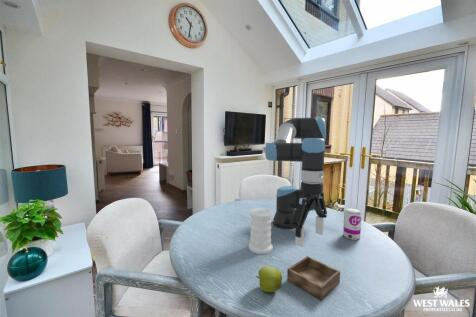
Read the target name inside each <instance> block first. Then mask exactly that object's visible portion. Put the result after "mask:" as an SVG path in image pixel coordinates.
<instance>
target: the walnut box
mask: <svg viewBox="0 0 476 317" xmlns="http://www.w3.org/2000/svg"><path fill="white" fill-rule="evenodd" d="M286 272H287V274H286V275H287V277H286V278H287V279H286V280H287V281H288V282H289V283H291V284H293V285H294V286H296V287H298V288H299V289H301V290H302V291H305V293H308V294H310V295H311V296H313V297H314V298H316V299H318V301H322V300H324V298H326V297H327V295H329V293H330V292H332V291H333V290H334V289H335V288H336V287H337V286H338V285H339V284H340V283H341V282H340V280H341V271H340V270H338V269H336V268H334V267H332V266H330V265H327V264H326V263H323V262H322V261H319V260H317V259H315V258H312V257H311V256H308V255H307V256H305V257H304V258H302V259H301V260H299V261H298V262H296V263H294V264H293V265H291V266H290V267H288V268H287V271H286Z"/></svg>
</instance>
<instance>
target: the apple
mask: <svg viewBox="0 0 476 317" xmlns="http://www.w3.org/2000/svg"><path fill="white" fill-rule="evenodd" d="M255 278H257V279H259V287H260V289H261V290H262V291H263V292H265V293H274V292H276V291H278V290H280V288H281V286H282V283H283V275H282V272H281V271H280V270H279V269H277V268H276V267H273V266H269V265H265V266H264V265H263V266H262V267H261V268H260V269H259V270H258V275H256V276H255Z"/></svg>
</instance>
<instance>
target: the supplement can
mask: <svg viewBox="0 0 476 317" xmlns="http://www.w3.org/2000/svg"><path fill="white" fill-rule="evenodd" d="M362 216H363V215H362V212H361V210H360V209H358V208H355V207H346V208H345V210H344V212H343V228H342V230H343V231H342V234H343V236H344V237H345V238H346V239H348V240H353V241H357V240H359V239H361V228H362Z"/></svg>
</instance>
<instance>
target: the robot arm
mask: <svg viewBox="0 0 476 317" xmlns="http://www.w3.org/2000/svg"><path fill="white" fill-rule="evenodd" d="M326 126H327V125H326V120H325V118H323V117H315V116H314V117H293V118H290V119H288V120H286V121H284V122H283V123H281V124H280V126H279V127H278V129H277V133H278V134H277V136H276V137H275V139H274V142H273V141H272V142H267V143H266V144H265V147H264V148H265V150H264V152H265V153H264V154H265V159H266V160H267V161H274V162H297V163H299V162H300V163H301V168H300V170H301V171H300V172H301V173H300V181H301V182H300V186H299V189H297V186H294V185H285V186H280V187H279V188H277V189H276V196H275V197H276V201H275V202H276V205H275V206H276V207H275V209H276V211H275V214H274V217H273V220H272V222H273V225H274V226H275V227H278V228H281V229H287V230H288V229H295V230H294V231H295V234H294V236H295V238H294V239H295V240H294V242H295V245H296V246H299V247H300V248H304V238H305V236H304V235H305V227H304V224H305V222H306V220H307V218H308V214H309V213H310V212H311V211H312V212H313V211H315V214H316V216H315V229H314V230H315V231H314V232H315V233H316V234H318V235H321V236H323V235H324V219H326V218H327V217H328V216H327V214H328V210H327V206H326V202H325V194H324V183H323V182H324V177H325V174H324V169H325V167H324V165H325V151H326V146H325V145H326V144H325V139H327V127H326ZM294 139H298V140H300V139H301V142H293V140H294Z"/></svg>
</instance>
